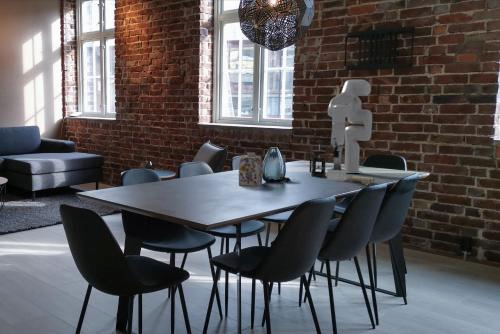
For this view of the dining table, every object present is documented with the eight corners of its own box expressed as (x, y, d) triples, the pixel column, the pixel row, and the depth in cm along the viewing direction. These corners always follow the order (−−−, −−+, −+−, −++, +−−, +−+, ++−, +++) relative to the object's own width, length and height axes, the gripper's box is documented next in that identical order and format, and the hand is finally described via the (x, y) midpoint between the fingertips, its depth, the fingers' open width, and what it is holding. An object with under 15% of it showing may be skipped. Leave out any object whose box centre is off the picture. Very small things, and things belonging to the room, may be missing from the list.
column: (335, 168, 309) (335, 144, 307) (342, 168, 306) (343, 144, 304) (331, 169, 305) (332, 144, 303) (339, 169, 302) (340, 145, 300)
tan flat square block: (354, 181, 306) (354, 176, 306) (374, 182, 300) (374, 177, 299) (347, 183, 296) (347, 178, 295) (367, 185, 290) (367, 180, 289)
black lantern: (329, 178, 318) (331, 141, 315) (321, 179, 311) (322, 141, 308) (314, 176, 326) (315, 140, 323) (305, 177, 319) (306, 140, 316)
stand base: (331, 178, 314) (331, 167, 313) (349, 180, 308) (350, 169, 307) (323, 181, 304) (323, 169, 303) (342, 183, 297) (342, 171, 297)
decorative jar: (258, 186, 280) (259, 154, 278) (238, 185, 282) (238, 153, 280) (262, 183, 292) (263, 152, 289) (242, 182, 294) (243, 151, 292)
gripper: (338, 125, 311) (337, 155, 314) (327, 126, 297) (326, 158, 299) (349, 125, 307) (348, 155, 310) (339, 127, 293) (338, 158, 296)
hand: (337, 156), depth 305 cm, fingers closed on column, 4 cm apart
